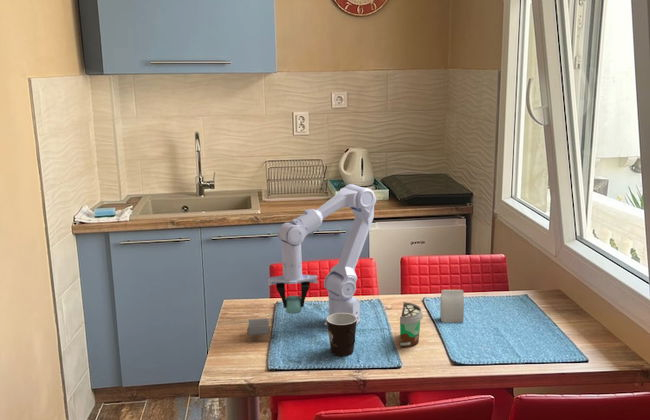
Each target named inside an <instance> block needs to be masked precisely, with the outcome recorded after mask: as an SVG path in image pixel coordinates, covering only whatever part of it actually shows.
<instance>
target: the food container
mask: <svg viewBox="0 0 650 420" xmlns="http://www.w3.org/2000/svg"><path fill="white" fill-rule="evenodd" d="M402 304H403V306H402V311H401V316H399V318H400V319H399V328H400V329H399V333H400V334H399V339H400V340H399V341H400V343H399V345H400V346H399V347H400V348H399V349H405V348H406V349H407V348H412V347H415V346H417V345H418V344H419V340H420V331H421V329H420V328H421V320H422V319H423V318H424V315H423V310H422V308H421V307H420V306H419V305H417V304H416V303H412V302H407V301H405V302H404V301H403V303H402Z"/></svg>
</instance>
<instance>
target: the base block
mask: <svg viewBox="0 0 650 420" xmlns="http://www.w3.org/2000/svg"><path fill="white" fill-rule="evenodd" d="M246 329H247V330H246V338H245V339H246V343H247V344H250V343H251V344H252V343H269V342H271V339H270V338H271V337H272V334H271V333H272V330H271V329H272V327H271V325H269V334H264V335H249V332H248V328H246Z"/></svg>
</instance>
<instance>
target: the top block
mask: <svg viewBox="0 0 650 420" xmlns="http://www.w3.org/2000/svg"><path fill="white" fill-rule="evenodd" d="M247 325H248V326H247V329H248V332H249V335H264V334H269V326H270V325H269V318H255V319H254V318H253V319H248V324H247Z"/></svg>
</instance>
